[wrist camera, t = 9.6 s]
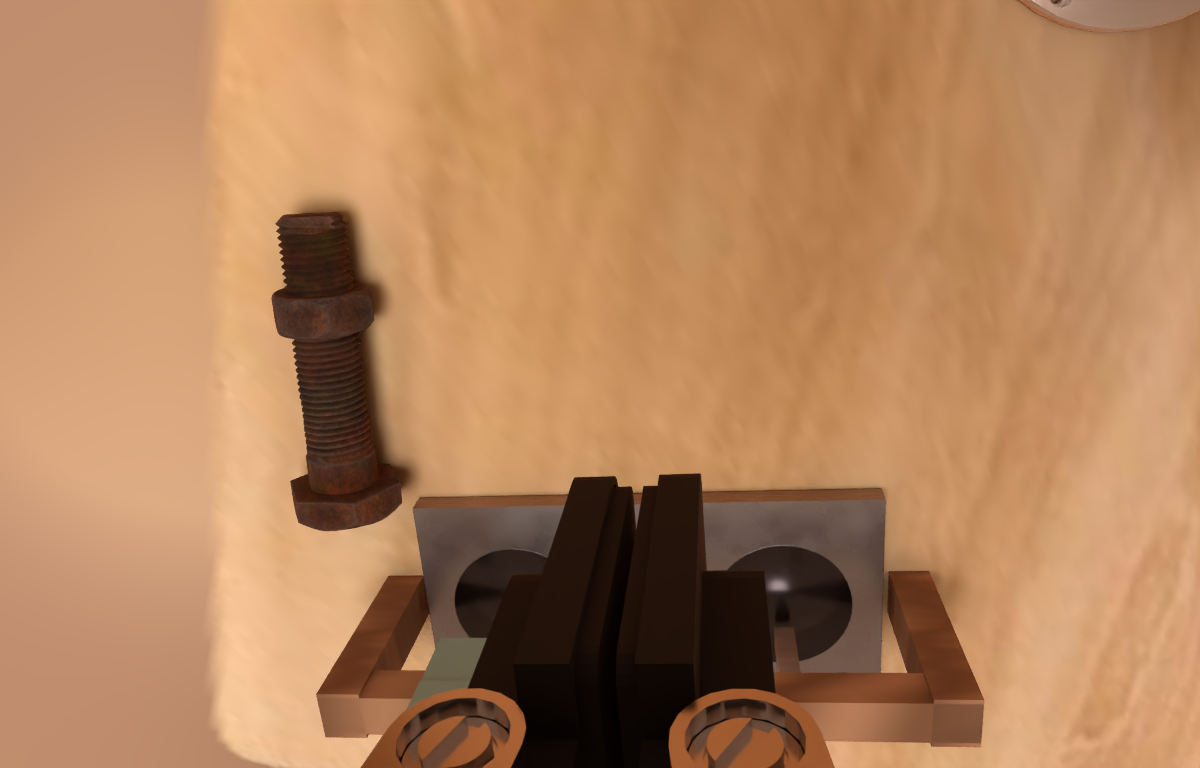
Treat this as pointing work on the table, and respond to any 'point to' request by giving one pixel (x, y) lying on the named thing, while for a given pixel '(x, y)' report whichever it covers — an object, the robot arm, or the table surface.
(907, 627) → the beam
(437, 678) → the slider block
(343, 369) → the bolt
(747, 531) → the hole plate
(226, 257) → the table surface
